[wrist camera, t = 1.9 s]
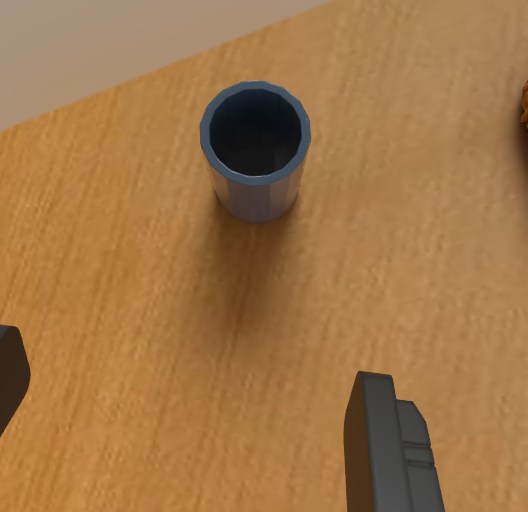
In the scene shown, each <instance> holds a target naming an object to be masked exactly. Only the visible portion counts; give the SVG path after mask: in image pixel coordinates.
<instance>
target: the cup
mask: <svg viewBox="0 0 528 512" xmlns="http://www.w3.org/2000/svg"><path fill="white" fill-rule="evenodd" d="M310 142H311V131H310V120H309V117H308V115H307V113H306V111H305V110H304V108H303V106H302V104H301V102H300V101H299V100H298V99H297V98H296V97H295V96H294V95H292V94H291V93H290V92H289V91H287V90H286V89H285V88H283V87H281V86H278V85H275V84H272V83H269V82H266V81H243V82H240V83H238V84H235V85H233V86H231V87H229V88H226V89H224V90H223V91H221V92H220V93H219V94H218V95H217V96H216V97H215V98H214V99H213V100H212V101H211V102H210V103H209V104H208V106H207V108H206V110H205V113H204V115H203V118H202V120H201V123H200V145H201V148H202V151H203V154H204V158H205V161H206V164H207V167H208V170H209V173H210V177H211V180H212V183H213V186H214V189H215V192H216V194H217V196H218V199H219V201H220V203H221V204H222V206H223V207H224V208H225V209H226V210H227V211H228V212H229V213H230V214H231V215H232V216H234V217H236V218H237V219H240V220H242V221H245V222H250V223H264V222H269V221H272V220H274V219H276V218H278V217H280V216H281V215H283V214H284V213H285V212H286V211H287V210H288V209H289V208H290V207H291V206H292V204H293V203H294V201H295V199H296V196H297V193H298V190H299V187H300V183H301V179H302V175H303V171H304V167H305V163H306V159H307V154H308V150H309V146H310Z"/></svg>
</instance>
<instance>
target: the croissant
mask: <svg viewBox="0 0 528 512" xmlns="http://www.w3.org/2000/svg"><path fill="white" fill-rule="evenodd" d="M522 91H523V98H522V100H521V103H522V106H523V109H524V111H525V112H524V114H523V115H522V117H521V122H526V121H528V80H527V82H526V84H525V86H524V87H523V90H522ZM527 129H528V122H527Z"/></svg>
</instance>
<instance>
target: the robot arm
mask: <svg viewBox="0 0 528 512" xmlns="http://www.w3.org/2000/svg"><path fill="white" fill-rule="evenodd" d="M29 383H30V367H29V363H28V360H27V356H26V352H25V349H24V345H23V341H22V338H21V334H20V331H19V329H18V328H17V327H15V326H8V325H0V437H1V435H2V433H3V432H4V430H5V428H6V427H7V425H8V423H9V422H10V420H11V418H12V417H13V415H14V413H15V412H16V410H17V408H18V407H19V405H20V403H21V402H22V400H23V398H24V397H25V395H26V392H27V390H28V387H29ZM430 445H431V443H430V438H429V434H428V429H427V424H426V421H425V420H424V418H423V417H422V415H421V413H420V412H419V410H418V409H417V407H416V406H415V404H414V403H413V401H405V400H398V399H396V395H395V389H394V383H393V378H392V376H391V375H388V374H380V373H372V372H364V371H358V373H357V375H356V378H355V382H354V385H353V389H352V392H351V396H350V399H349V402H348V406H347V409H346V414H345V420H344V456H345V476H346V495H347V512H445V508H444V504H443V499H442V494H441V490H440V485H439V480H438V476H437V471H436V467H434V463H435V462H434V457H433V452H432V449H431V448H430Z"/></svg>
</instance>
